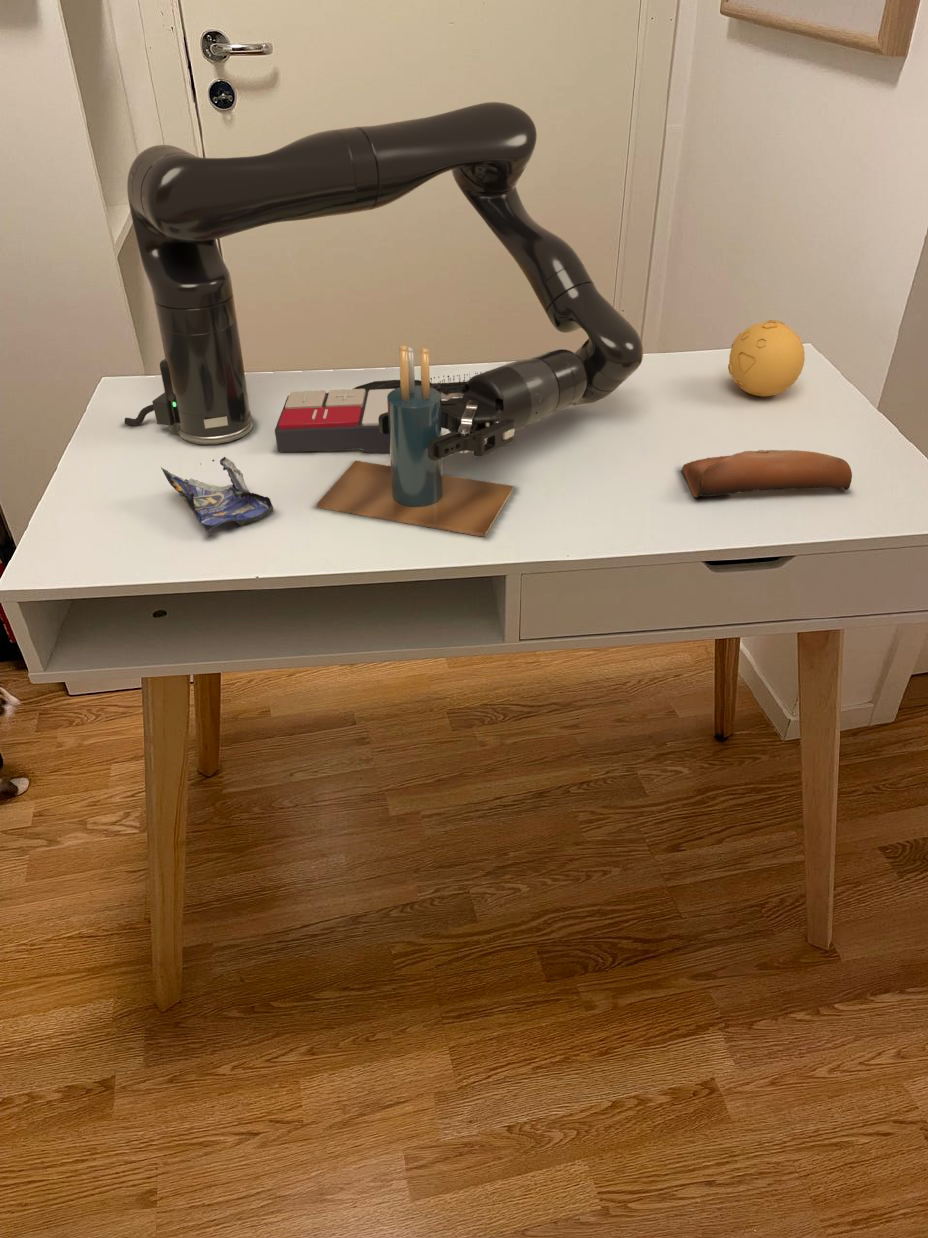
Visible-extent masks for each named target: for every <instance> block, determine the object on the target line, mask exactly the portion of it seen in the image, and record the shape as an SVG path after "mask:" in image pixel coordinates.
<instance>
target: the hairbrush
mask: <svg viewBox="0 0 928 1238" xmlns="http://www.w3.org/2000/svg"><path fill="white" fill-rule="evenodd" d="M487 371H488V370H486V371H485V372H487ZM481 373H482V372H481V371H480V373H478V372H474V375H478V374H481ZM468 375H469V374H465V373H464V374H463V376H464V377H463V381H461V380H458V381H455V375H452V376H453V382H452V381H451V380H452V379H451V378H452V377H450V375H447V381H449V382H445V381H446V379H445V375H443V376H442V377H443V379H442V380H439V382H435V380H434V382H433V381H432V379H435V378H436V377H435V376H434V377H433V378H432V377H431V378H430V385H433V384H439V385H441V392H442V393H443V394H445V395H447V394H450V393H458V392H461V391H462V389H463V388H464V386H465V385H466V383H467V382H468V380H469V379H468V378H466V376H468ZM456 377H460V374H457V375H456ZM437 378H438V379H440V376H439V375H438V377H437ZM415 386H421V379H415ZM400 387H401V382H400V379H390V380H389V379H387V380H374V381H371V382H368V383H364V384H361V385H358V386H355V387H353V388H352V389H365V391H369V390H378V389H397V388H400Z"/></svg>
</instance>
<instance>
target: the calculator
mask: <svg viewBox="0 0 928 1238" xmlns="http://www.w3.org/2000/svg"><path fill="white" fill-rule="evenodd" d="M392 390H394V389H378V390H369V391H365V389H353V388H349V389H331V390H329V391H328V392H327V391H326V390H303V391H301V390H299V391H290V393H289V394H288V395H287V397H286V399H285V402H284V404H283V407H282V409H281V412H280V415H279V417H278V420H277V422H276V426H275V428H274V435H275V442H276V447H277V452H279V453H297V452H320V451H321V452H323V451H324V452H325V451H345V450H346V451H347V450H361V451H364V452H365V453H368V454H377V453H379V454H380V453H390V445H389V433H388V434H383V433H381V432H380V431H379V422H378V418H379V416H380V415H381V414H383V413H386V412H388V406H387V396H388V394H389V393H390V392H391V391H392Z"/></svg>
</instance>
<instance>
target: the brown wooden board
mask: <svg viewBox="0 0 928 1238" xmlns="http://www.w3.org/2000/svg"><path fill="white" fill-rule="evenodd" d="M442 489H443V495H442V498H441V499H440V500H439V501H438V502H436V503H434V504H432V505H429V506H424V507H408V506H404V505H401V504H399V503H397V502H396V501H395V500H394V499H393V497H392V485H391V465H385V464H379V463H373V462H366V461H362V460H354V461H353V462H352V464H351V465H349V467H348V469H346V470H345V472H344V473H343V474H342V475H341V476H340V477H339V479H338V480H337V481H336V482H335V483H334V484H333V485H332V486H331V487H330V488H329V490H328V491H326V492H325V494H324V495H323V496H322V498H320V499H319V501H318V502H317V503H316V508H319V509H324V510H329V511H335V512H341V513H347V514H354V515H357V516H364V517H368V518H373V519H374V518H375V519H380V520H387V521H391V522H396V523H404V524H408V525H414V526H419V527H426V528H432V529H438V530H442V531H448V532H454V533H460V534H466V535H471V536H475V537H483V538H486V537H487V535H488V533H489V532H490V530H491V528H492V527H493V525H494V524H495V522H496V520H497V519H498V517H499V515H500V513H501V512H502V509H504V506H505V505H506V503H507V501H508V499H509V498H510V496H511V495H512V493H513V491H514V485H509V484H502V483H496V482H491V481H485V480H478V479H473V478H465V477H461V476H453V475H448V474H442Z"/></svg>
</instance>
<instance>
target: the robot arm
mask: <svg viewBox="0 0 928 1238" xmlns="http://www.w3.org/2000/svg"><path fill="white" fill-rule="evenodd" d="M537 138H538V133H537V127H536V124H535V122H534V121H533V119H532V117H531V116H530V115H529V114H528V113H527V112H526V111H525V110H523V109H521V108H519V107H518V106H515V105H513V104H511V103H506V102H498V101H488V102H482V103H481V102H480V103H477V104H472V105H469V106H465V107H461V108H457V109H455V110H450V111H448V112H447V111H446V112H443V113H439V114H435V115H431V116H426V117H421V118H420V117H419V118H414V119H406V120H402V121H396V122H388V123H383V124H376V125H375V124H374V125H365V126H353V127H345V128H337V129H329V130H324V131H319V132H315V133H312V134H309V135H305V136H303V137H301V138H299V139H296V140H294V141H292V142H290V143H288V144H286V145H284V146H282V147H280V148H278V149H276V150H273V151H269V152H267V153H263V154H258V155H251V156H250V155H249V156H238V157H237V156H236V157H202V156H196V155H194V154H192V153H191V152H189V151H187V150H185V149H182V148H180V147H177V146H175V145H171V144H157V145H153V146H149V147H147V148H145V149H144V150H143V151H141V152H140V153H139V154H138V155H137V156H136V157H135V159H134V160H133V162H132V164H131V165H130V168H129V171H128V174H127V182H126V193H127V200H128V206H129V210H130V211H129V212H130V217H131V220H132V226H133V229H134V235H135V238H136V243H137V248H138V252H139V256H140V260H141V264H142V268H143V271H144V273H145V275H146V278H147V280H148V283H149V285H150V289H151V293H152V298H153V300H154V306H155V311H156V317H157V323H158V328H159V333H160V338H161V342H162V343H161V344H162V349H163V353H164V358H163V359H162V360H161V361H160V362H159V370H160V375H161V380H162V385H163V390H164V392H163V393H161V394H160V395H159V396H157V397H156V398H154V399H153V400H151V401H152V404H149V405H147V406H145V407H143V408H142V409H141V410H140V411H139V413H138V414H137V417H135V418H130V417H124V424H125V425H130V426H138V425H140V424H142V423H143V421H144V420H145V418H146V416H147V415H148V414H149V413H151V412H154V415H155V420H156V421H155V422H156V424H157V425H161V426H167V427H171V430H172V434H173V435H179V436H180V437H181V439H183V440H185V441H186V442H189V443H193V444H198V445H218V444H226V443H229V442H233V441H236V440H238V439H241V438H243V437H245V436H246V435H248V434H249V433H250V432H251V431H252V429H253V427H254V425H253V418H252V414H251V410H250V403H249V395H248V387H247V381H246V373H245V367H244V361H243V360H244V359H243V352H242V345H241V338H240V330H239V324H238V318H237V311H236V304H235V297H234V291H233V285H232V284H233V283H232V278H231V277H232V276H231V273H230V271H229V268H228V267H227V265H226V262H225V261H224V259H223V257H222V254H221V252H220V249H219V245H218V243H217V240H219V239H221V238H225V237H228V236H232V235H234V234H238V233H242V232H245V231H249V230H251V229H255V228H259V227H263V226H267V225H272V224H276V223H283V222H293V221H294V222H297V221H304V220H313V219H321V218H325V217H326V218H327V217H332V216H334V217H335V216H342V215H349V214H355V213H360V212H367V211H372V210H376V209H379V208H383V207H386V206H387V205H390V204H392V203H394V202H396V201H399V200H400V199H402V198H403V197H405V196H406V195H408V194H410V193H411V192H413V191H415V190H416V189H418V188H420V187H421V186H423V185H424V184H426V183H427V182H429V181H431V180H432V179H435V178H436V177H438V176H440V175H442V174H444V173H447V172H450V171H451V173H452V176H453V177H452V178H453V180H454V181H455V183H456V184H457V187H458V188H459V190H460V191H461V193H462V195H463V196H464V197H465V198H466V200H467V201H468V202H469V204H470V205H471V206H472V207H473V209H474V210H475V211H476V212H477V214H478V215H479V216H480V217H481V219H482V220H483V221H484V223H485V224H486V225H487V226H488V228H489V229H490V230H491V232H492V233H493V234H494V236H495V237H496V238H497V239H498V240H499V242H500V243H501V244H502V246H503V247H504V248H505V249H506V250H507V252H508V253H509V255H510V256H511V258H513V260H514V261H515V263H516V264H517V266H518V267H519V268H520V270H521V271H522V273H523V275H524V276H525V278H526V280H527V282H528V283H529V284H530V287H531V288H532V290H533V292H534V294H535V296H536V298H537V299H538V301H539V303H540V305H541V306H542V308H543V310H544V312H545V314H546V316H547V318H548V320H549V321H550V323H551V324H552V326H553V328H555V329H556V330H557V331H558V332H559V333H563V334H565V333H568V334H569V333H572V332H576V331H579V329H582V330H583V331H584V332H585V333H586V334H587V337H588V338H587V340H586V341H584V343H583V344H582V345H581V346H580V347H579V348H578V349H577V350H576V351H575V352H574V351H572V350H569V349H562V348H560V349H554V350H550V351H547V352H544V353H541V354H539V355H535V356H533V357H530V358H526V359H521V360H520V359H519V360H516V361H513V362H512V361H511V362H510V363H507V364H503V365H500V366H498V367H494V368H493V369H490V370H486V371H487V372H486V371H484V372H481V373H478V374H474V375H473V376H472V377H469V379H468V382H467V383H466V385H465V386H464V388H463V389H462V391H461V392H458V393H450V394H447V395H445V394H443V393H442V392H441V385H439V384H433V385H430V388H433V389H435V390H437V391H438V392H439V393H440V394H441V420H442V429H445V430H448V431H449V432H447V433H445V434H442V436H440V437H437V438H435V439H432V440H430V441H429V442H428V458H429V459H431V460H433V461H436V460H438V459H441V458H442V459H445V458H447V457H450V456H452V455H455V454H457V453H460V454H467V453H469V452H471V453H472V456H473V457H475V458H482V457H484V456H486V455H489V454H491V453H493V452H495V451H497V450H500V449H502V448H504V447H506V446H508V445H511V444H512V443H514V442H515V431H517V430H520V429H522V428H525V427H527V426H530V425H532V424H535V423H537V422H538V421H541V420H542V419H544V418H545V417H547V416H549V415H551V414H554V413H556V412H558V411H561V410H563V409H566V408H569V407H570V406H580V405H589V404H593V403H597V402H598V401H600V400H603V399H605V398H606V397H608V396H609V395H611V394H612V393H613V392H614V391H615V390H617V389H618V388H619V387H620V386H621V385H622V384H623V383H624V382H625V381H626V380H627V379H628V378H629V377H631V376H632V375H633V373H635V372H636V371H637V370H638V369H639V367H640V366H641V364H642V363H643V359H644V347H643V342H642V339H641V337H640V335H639V333H638V332H637V330H636V328H635V327H634V326H633V324H631V323H630V322H629V321H628V320H627V318H625V317H624V316H623V315H622V314H621V313H620V312H619V311H618V310H617V309H616V308H615V306H613V305H612V304H611V303H610V302H609V301H608V300H607V299H606V298H605V297H604V296H603V295H602V294H601V293H600V291H599V290H598V288H597V286H596V285H595V283H594V280H593V279H592V277H591V276H590V274H589V272H588V269H587V268H586V267H585V264H584V263H583V261H582V260H581V258H580V257H579V256H580V255H578V254H577V252H576V251H575V250H574V248H573V247H572V246H571V245H570V244H569V243H568V242H566V241H565V240H564V239H563V238H561V237H560V236H558V235H556V234H555V233H554V232H552V231H550V230H548V229H546V228H545V227H544V226H542V225H541V224H539V223H538V222H537V221H535V220H534V219H533V217H532V216H530V214H529V212H528V211H527V209H526V208H525V206H524V204H523V202H522V200H521V197H520V194H519V192H518V189H517V186H516V185H518V182H519V181H520V178H521V177H522V175H523V173H524V171H525V170H526V168H527V166H528V165H529V162H530V161H531V158H532V156H533V154H534V151H535V149H536V144H537V140H538V139H537ZM378 422H379V431H380V432H381V433H383V434H388V433H389V425H388V412H386V413H383V414H381V415H380V416H379V418H378ZM485 440H486V443H485Z"/></svg>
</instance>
